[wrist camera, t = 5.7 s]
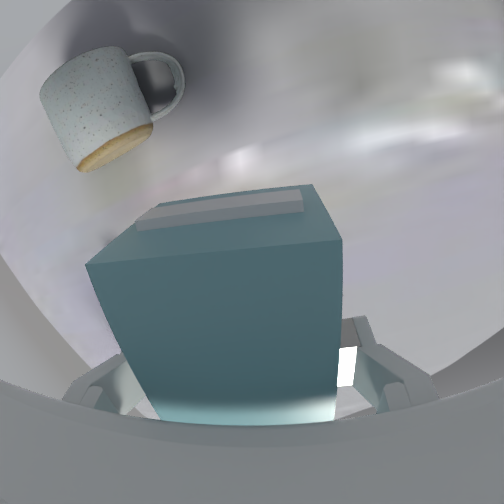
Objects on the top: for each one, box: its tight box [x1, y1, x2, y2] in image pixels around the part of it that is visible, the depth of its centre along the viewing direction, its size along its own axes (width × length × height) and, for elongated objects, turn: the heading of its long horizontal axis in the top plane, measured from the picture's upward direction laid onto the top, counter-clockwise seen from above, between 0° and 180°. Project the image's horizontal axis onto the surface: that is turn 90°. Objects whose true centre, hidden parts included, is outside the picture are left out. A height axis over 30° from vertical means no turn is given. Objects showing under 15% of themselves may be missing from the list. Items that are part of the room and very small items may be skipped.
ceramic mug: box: [40, 46, 185, 173], centre depth 18 cm, size 11×8×8 cm
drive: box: [85, 184, 343, 425], centre depth 10 cm, size 6×10×5 cm, turn 8°
